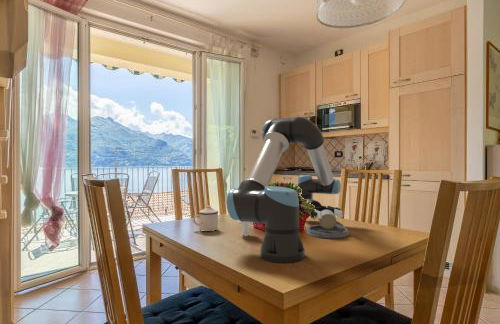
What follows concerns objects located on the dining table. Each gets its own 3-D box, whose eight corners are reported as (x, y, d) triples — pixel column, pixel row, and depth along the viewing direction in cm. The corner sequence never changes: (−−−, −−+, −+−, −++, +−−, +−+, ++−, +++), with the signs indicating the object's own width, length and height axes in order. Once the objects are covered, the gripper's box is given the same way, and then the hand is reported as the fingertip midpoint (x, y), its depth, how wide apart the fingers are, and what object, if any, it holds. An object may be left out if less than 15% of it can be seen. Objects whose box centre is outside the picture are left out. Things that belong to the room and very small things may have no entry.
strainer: (248, 238, 127) (247, 202, 127) (234, 236, 130) (233, 201, 130) (256, 234, 133) (256, 200, 133) (243, 232, 136) (242, 199, 136)
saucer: (315, 239, 122) (315, 234, 122) (301, 229, 140) (301, 225, 140) (356, 237, 125) (356, 232, 125) (337, 227, 143) (336, 223, 143)
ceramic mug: (319, 230, 128) (319, 212, 128) (318, 226, 136) (318, 209, 136) (345, 231, 126) (345, 213, 126) (342, 226, 135) (342, 209, 135)
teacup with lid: (219, 227, 147) (219, 204, 147) (217, 232, 138) (217, 207, 138) (195, 228, 147) (194, 204, 147) (191, 232, 138) (191, 207, 138)
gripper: (332, 213, 152) (354, 222, 130) (291, 215, 148) (307, 225, 126) (331, 198, 152) (354, 205, 130) (291, 200, 148) (307, 207, 126)
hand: (331, 215), depth 128 cm, fingers closed on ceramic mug, 9 cm apart
